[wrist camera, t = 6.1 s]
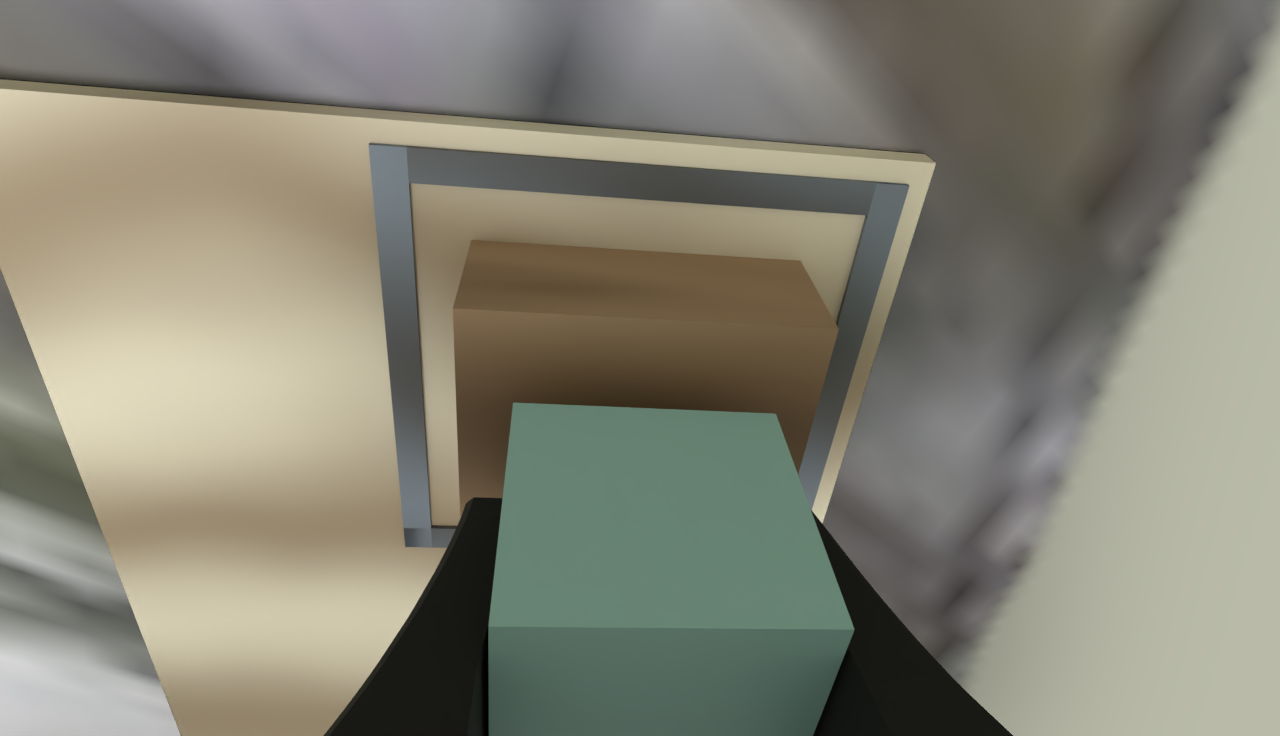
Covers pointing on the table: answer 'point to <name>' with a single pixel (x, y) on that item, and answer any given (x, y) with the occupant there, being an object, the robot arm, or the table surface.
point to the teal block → (658, 579)
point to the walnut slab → (630, 341)
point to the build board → (349, 340)
